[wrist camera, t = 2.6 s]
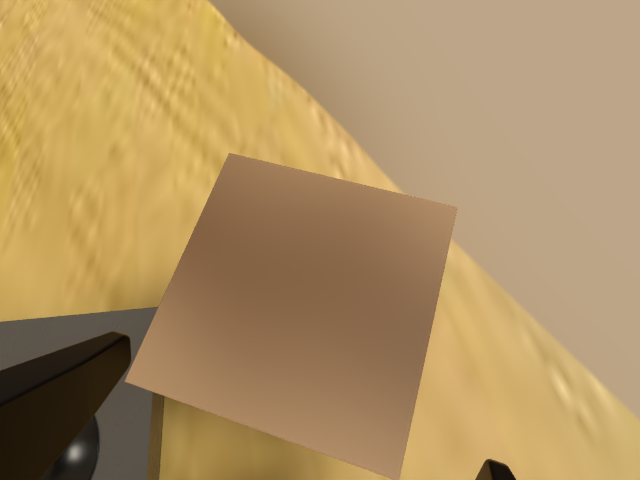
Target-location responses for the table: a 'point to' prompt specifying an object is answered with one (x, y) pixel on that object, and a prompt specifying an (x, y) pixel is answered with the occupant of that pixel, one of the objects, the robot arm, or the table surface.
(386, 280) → the post
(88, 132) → the table surface
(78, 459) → the bolt plate
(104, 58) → the table surface
